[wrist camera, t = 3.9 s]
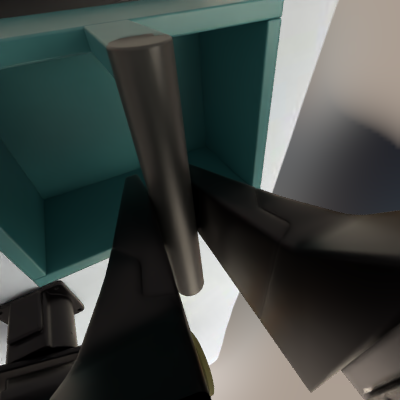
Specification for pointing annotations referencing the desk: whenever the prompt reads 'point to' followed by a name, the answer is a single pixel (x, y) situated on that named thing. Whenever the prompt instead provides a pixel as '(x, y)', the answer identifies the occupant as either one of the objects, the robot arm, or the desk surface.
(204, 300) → the desk surface
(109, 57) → the teal basket
